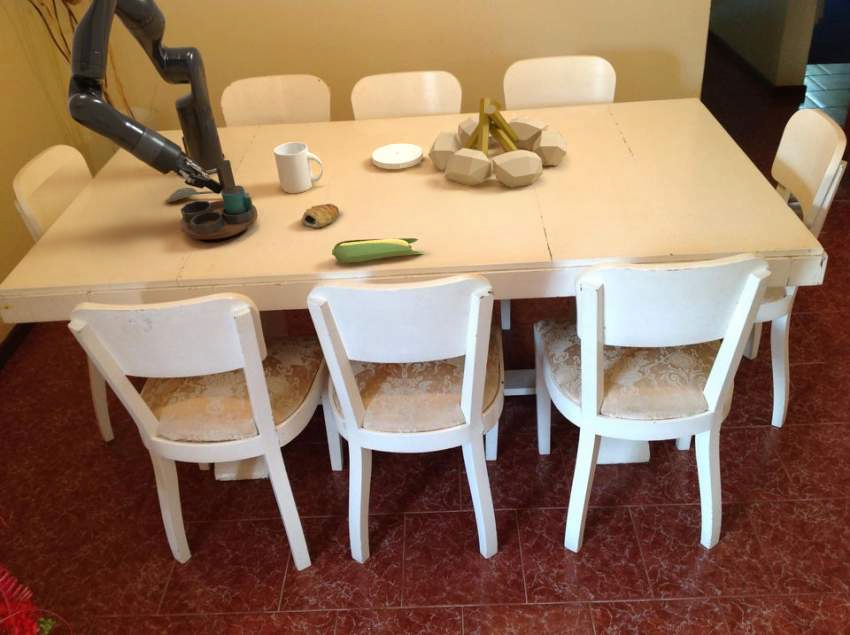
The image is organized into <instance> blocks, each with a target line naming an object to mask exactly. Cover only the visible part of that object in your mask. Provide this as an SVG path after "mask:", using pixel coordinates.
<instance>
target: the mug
mask: <svg viewBox="0 0 850 635" xmlns="http://www.w3.org/2000/svg"><path fill="white" fill-rule="evenodd" d="M273 153H274V159H275V163H276V169H277V173H278V179H279V184H280V188H281V189H282V191H284V193H287V194H288V193H289V194H300V193H303V192H306V191H309V190H311V189H312V188H313V186H314V183H317V182H319V181H320V180H321V179H322V178H323V175H324V166H323V163H322V161H321V159H320V158H319V157H318V156H317V155H315V154H314V153H311V152H309V147H308V145H307V144H306V143H305V142H301V141H291V142H286V143H282V144H279V145H278V146H276V147H274V148H273ZM311 161H314V162H317V163H318V164H319V165H320V168H321V171H320V174H318V175H314V174H313V170H312V164H311Z"/></svg>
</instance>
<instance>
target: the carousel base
mask: <svg viewBox="0 0 850 635" xmlns="http://www.w3.org/2000/svg"><path fill="white" fill-rule="evenodd" d="M248 230H249V228H247V229H245V230H243V231H241V232H239V233H237V234H234V235H231V236H227V237H223V238H217V239H197V240H198V241H200V242H203V243H209V244H215V243H216V244H217V243H224V242H228V241H231V240H235V239H237V238H239V237H241V236H242V235H243V234H245V233H246V232H247V231H248Z"/></svg>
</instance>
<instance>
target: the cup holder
mask: <svg viewBox="0 0 850 635" xmlns="http://www.w3.org/2000/svg"><path fill="white" fill-rule="evenodd" d="M231 165H232V164H231V161H230V159H224V161H223V162H222V163H221V164H220V165H219V166H218V167H217V168H216V171H217V172H216V174H217V179H218V183H220V187H221V193H220V194H221V197H222V200H215V201H211V202H209V201H208V200H196V201H191V202H189V203H186V204H185V205H183V206H182V207H181V208H180V210H179V211H180V213H181V219H180V221H179V227H180V229H181V232H182V234H184V235H185V236H187V237H189V238H192V239H196V240H198V239H217V238H223V237H227V236H231V235H234V234H237V233H239V232H241V231H243V230H245V229H247V228H248V229H249V228H250V227H252V226H253V224H254V223H255V222H256V221H257V219H258V216H259V215H258V209H257V207H256V206H255V205H254V204H253V200H252V197H251V196H249V197H247V196H246V195H245V192H246V190H245V187H244V186H242V185H239V184H238V185H236V182H235V177H234V173H233V170H232V166H231Z"/></svg>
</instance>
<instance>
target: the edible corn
mask: <svg viewBox="0 0 850 635" xmlns="http://www.w3.org/2000/svg"><path fill="white" fill-rule="evenodd" d="M418 241H419V239H418V238H415V237H414V238H413V237H410V238H409V237H406V238H405V237H404V238H403V237H402V238H401V237H400V238H369V239H367V238H366V239H352V240H351V239H350V240H343V241H340V242H337V243H336V244H335V245H334V247H333V249H331V254H332V255H331V256H334V257H335V259H336V260H337V261H338V262H340V263H342V264H355V263H363V262H368V261H375V260H381V259H382V260H383V259H388V258H397V257H403V256H412V255H413V256H414V255H421V254H424V253H425V251H422V250H413V249H412V248H413V246H412V245H410V244H413V243H415V242H418Z"/></svg>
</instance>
